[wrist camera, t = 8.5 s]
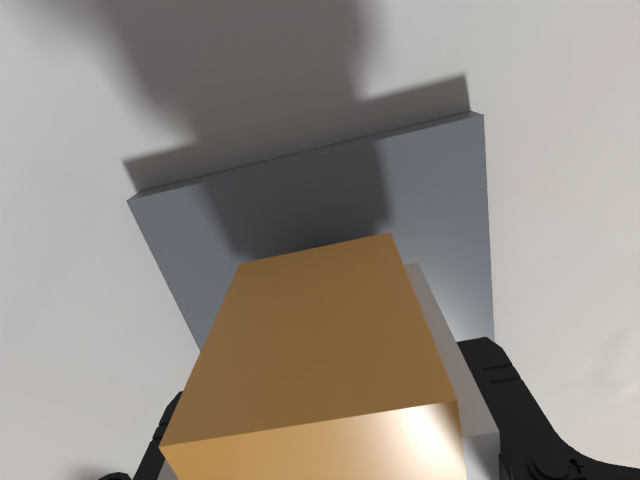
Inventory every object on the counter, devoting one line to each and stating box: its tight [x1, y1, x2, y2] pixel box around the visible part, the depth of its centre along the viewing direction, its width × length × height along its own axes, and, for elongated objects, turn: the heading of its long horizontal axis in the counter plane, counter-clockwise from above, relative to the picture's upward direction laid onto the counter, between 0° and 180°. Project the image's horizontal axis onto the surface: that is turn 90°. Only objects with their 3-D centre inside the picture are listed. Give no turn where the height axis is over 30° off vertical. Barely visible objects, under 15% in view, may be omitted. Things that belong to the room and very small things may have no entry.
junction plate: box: [127, 111, 494, 352], centre depth 16 cm, size 22×14×8 cm, turn 14°
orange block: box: [159, 232, 467, 480], centre depth 11 cm, size 5×5×7 cm
